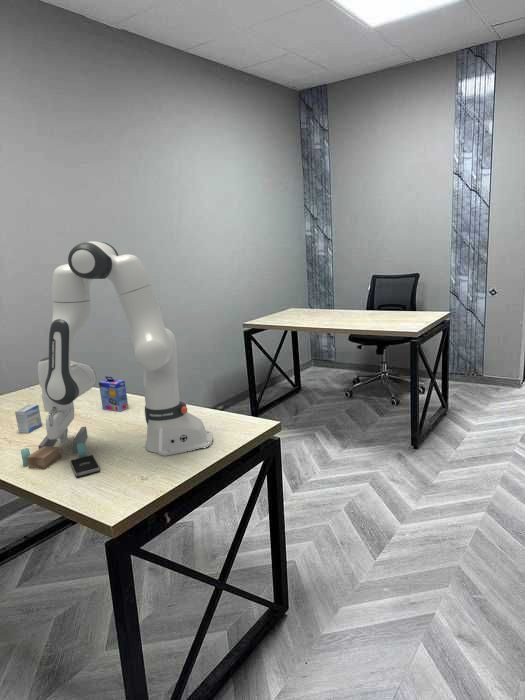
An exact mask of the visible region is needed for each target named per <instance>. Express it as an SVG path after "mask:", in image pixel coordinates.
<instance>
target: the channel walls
mask: <svg viewBox="0 0 525 700" xmlns="http://www.w3.org/2000/svg"><path fill="white" fill-rule="evenodd" d="M87 439H88V431H87V426H81V427H80V429H79V430H78V432H77V434H76V435H75V437H74V439H73V440H72V442H71V445H72V446H71V447H72V448H71V449H72V452H73V453H72V454H73V455H78V450H77V444H78V443H85V442H86V441H87ZM57 441H58V439H54V440H49V439H48V437H47V435H45V437H44V438H43V440H42V441H41V442H40V443H39V445H38V446H37V447H38V449H40V448H42V447H43V446H49V447H54V445H55V444H56V442H57Z"/></svg>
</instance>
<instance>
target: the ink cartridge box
mask: <svg viewBox="0 0 525 700" xmlns="http://www.w3.org/2000/svg"><path fill="white" fill-rule="evenodd" d="M104 377H105V379H102V380H100V381H98V387H99V393H100V399H101V406H102V410H105V411H112V412H119V413H120V412H122V411H124V410H126V409H129V403H128V395H127V389H126V383H125V380H124V379H114V378H113V377H112V376H104Z"/></svg>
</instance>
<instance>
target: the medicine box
mask: <svg viewBox="0 0 525 700" xmlns="http://www.w3.org/2000/svg"><path fill="white" fill-rule="evenodd" d="M14 412H15V413H14V415H15V418H16V419H15V420H16V425H17V428H18V429H17V430H18V433H19V434H30V433H32V432H34V431H35V430H37V429H39V428H40V427H42V426H43V424H42V417H41V411H40V406H39V404H28V405H26V406H24V407H22V408H19V409H18V410H15V411H14ZM33 430H34V431H33Z"/></svg>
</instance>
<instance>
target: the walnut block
mask: <svg viewBox="0 0 525 700" xmlns="http://www.w3.org/2000/svg"><path fill="white" fill-rule="evenodd" d="M61 459H62V453H61V447H60V446H53V447H49V446H43V447H42V448H40V449H39V448H38V449H36V450H35V451H34V452H32V453H30V455H29V456H27V462H28V466H27V467H28V469H34V468H39V469H38V470H47V469H48V468H49V467H51V466H52V465H54V464H55V463H56V462H58V461H59V460H61ZM57 460H58V461H57ZM50 465H51V466H50ZM47 467H48V468H47ZM40 468H41V469H40Z"/></svg>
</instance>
